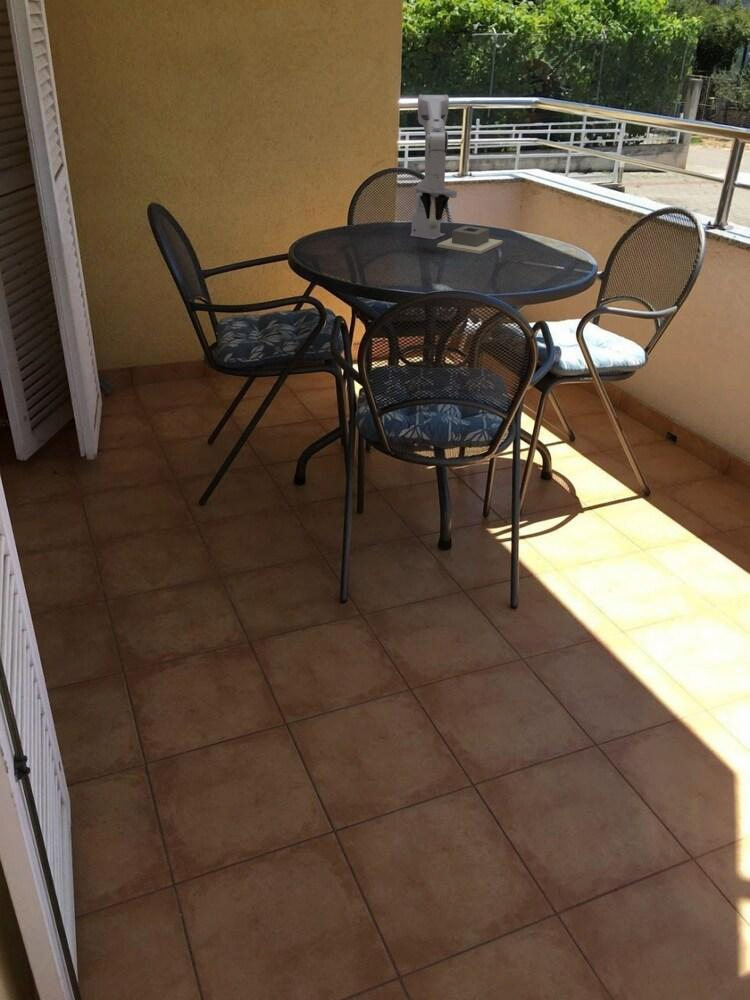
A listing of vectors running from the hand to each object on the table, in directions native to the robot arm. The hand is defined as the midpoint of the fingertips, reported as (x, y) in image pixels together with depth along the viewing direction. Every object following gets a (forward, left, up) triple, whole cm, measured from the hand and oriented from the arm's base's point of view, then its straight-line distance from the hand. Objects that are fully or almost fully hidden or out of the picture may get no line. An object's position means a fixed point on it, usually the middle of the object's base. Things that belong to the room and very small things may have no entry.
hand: (433, 218), depth 265 cm
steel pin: (0, 0, -3) cm, 3 cm away
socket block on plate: (+7, +12, -10) cm, 17 cm away
